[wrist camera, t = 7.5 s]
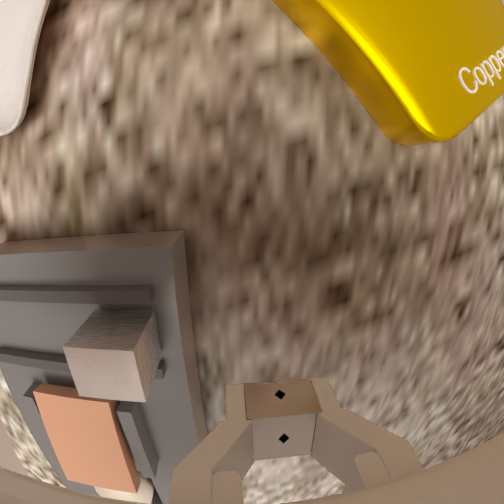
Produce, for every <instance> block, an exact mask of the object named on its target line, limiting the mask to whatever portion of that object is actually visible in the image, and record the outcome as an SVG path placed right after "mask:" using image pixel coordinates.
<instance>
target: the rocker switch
mask: <svg viewBox="0 0 504 504" xmlns="http://www.w3.org/2000/svg"><path fill="white" fill-rule="evenodd" d="M33 393H34V396H35V400H36V403H37V406H38V409H39V412H40V415H41V418H42V420H43V423H44V426H45V429H46V431H47V434H48V437H49V439H50V442H51V444H52V447H53V449H54V451H55V454H56V456H57V458H58V461H59V463H60V465H61V467H62V469H63V472H64V474H65V476H66V478H67V480H70V481H74V482H78V483H82V484H87V485H91V486H96V487H101V488H106V489H111V490H117V491H123V492H130V493H137V492H138V489H139V486H140V483H141V480H140V477H139V475H138V472H137V468H136V465H135V462H134V459H133V456H132V453H131V449H130V446H129V443H128V441H127V438H126V436H125V433H124V430H123V428H122V425H121V422H120V420H119V417H118V414H117V409H118V407H119V404H118V400H110V399H100V398H92V397H84V396H79V394H78V391H77V388H73V387H65V386H59V385H52V384H46V383H42V384H41V385H40V386H38V387H37V388H36V389H35V390H34V391H33Z"/></svg>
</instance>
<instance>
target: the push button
mask: <svg viewBox="0 0 504 504" xmlns="http://www.w3.org/2000/svg"><path fill="white" fill-rule="evenodd" d="M137 472H138V475H139V477H140V480H141V483H140V486H139V489H138V492H137V493H130V492H123V491H117V490H111V489H106V488H101V487H96V486H94V488H95V490H96V492H97V493H98V494H99V495H100V496H101V497H106V498H112V499H118V500H124V501H131V502H138V503H147V504H151V503H152V497H153V492H154V484H153V481H152V479H151V478H145V477H143V476H142V474H141V471H137Z"/></svg>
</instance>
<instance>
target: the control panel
mask: <svg viewBox="0 0 504 504" xmlns="http://www.w3.org/2000/svg"><path fill="white" fill-rule="evenodd" d="M95 310H155V317H156V323H157V329H158V336H159V342H160V347H161V353H162V356H161V359H160V362H159V365H158V368H157V371H156V374H155V377H154V380H153V383H152V385H151V389H150V392H149V395H148V398H147V401H146V402H133V401H120V400H118V404H119V407H118V409H117V414H118V417H119V420H120V422H121V425H122V428H123V430H124V433H125V436H126V438H127V441H128V443H129V446H130V449H131V453H132V456H133V459H134V462H135V465H136V468H137V471H141V474H142V476H143V477H145V478H151V479H152V481H153V484H154V492H153V497H152V503H151V504H169V500H170V492H171V484H172V476H173V469H174V468H175V467H176V466H177V465H178V464H179V463H180V462H181V461H182V460H184V459H185V458H186V457H187V456H188V455H189V454H190V453H191V452H192V451H193V450H194V449H195V448H196V447H197V445H198V444H199V443H200V442H201V441H202V440H203V439H204V438H205V437H206V436H207V435H208V433H207V427H206V420H205V414H204V408H203V401H202V394H201V388H200V380H199V373H198V366H197V358H196V350H195V341H194V333H193V324H192V315H191V305H190V295H189V284H188V272H187V260H186V247H185V233H184V230H176V231H156V232H138V233H120V234H104V235H88V236H73V237H59V238H46V239H33V240H20V241H8V242H3V243H0V369H1V371H2V373H3V376H4V378H5V380H6V383H7V385H8V387H9V390H10V392H11V394H12V396H13V398H14V400H15V402H16V405H17V407H18V409H19V411H20V413H21V415H22V416H23V418H24V420H25V422H26V424H27V426H28V428H29V430H30V431H31V433H32V435H33V437H34V438H35V440H36V442H37V444H38V445H39V447H40V449H41V450H42V452H43V454H44V455H45V457H46V458H47V460H48V461H49V463H50V465H51V466H52V468H53V469H54V471H55V472H56V474H57V475H58V477H59V478H60V479H61V481H62V482H63V484H64V485H65V486H66V488H67V489H70V490H74V491H78V492H83V493H87V494H92V495H96V496H100V495H99V494H98V493H97V492H96V490H95V488H94V486H91V485H87V484H82V483H78V482H74V481H70V480H67V478H66V476H65V474H64V472H63V469H62V467H61V465H60V463H59V461H58V458H57V456H56V454H55V451H54V449H53V447H52V444H51V442H50V439H49V437H48V434H47V431H46V429H45V426H44V423H43V420H42V418H41V415H40V412H39V409H38V406H37V403H36V400H35V396H34V393H33V391H34V390H35V389H36V388H37V387H38V386H40V385H41V384H42V383H46V384H52V385H59V386H65V387H73V388H76V386H75V383H74V380H73V377H72V374H71V371H70V368H69V365H68V362H67V359H66V356H65V353H64V349H63V346H64V345H65V343H66V342H67V341H68V340H69V339H70V338H71V336H72V335H73V334H74V333H75V332H76V331H77V330H78V328H79V327H80V326H81V325H82V324H83V323H84V322H85V321H86V319H87V318H88V317H89V316H90V315H91V314H92V313H93V312H94V311H95Z"/></svg>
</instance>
